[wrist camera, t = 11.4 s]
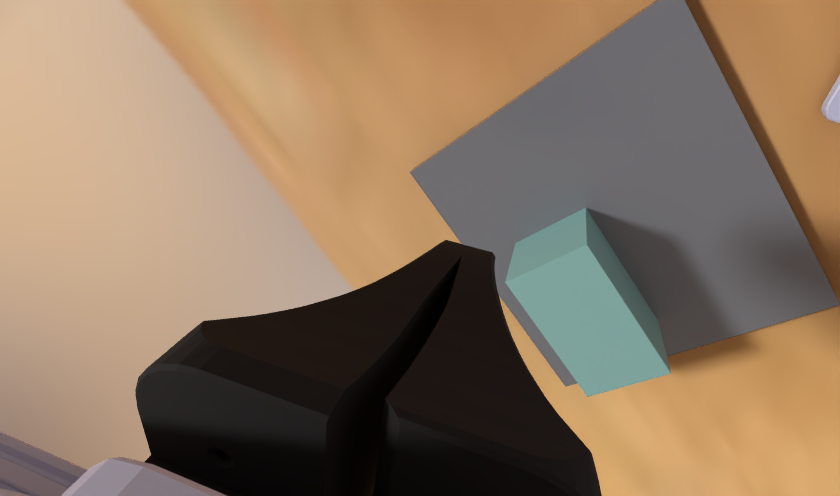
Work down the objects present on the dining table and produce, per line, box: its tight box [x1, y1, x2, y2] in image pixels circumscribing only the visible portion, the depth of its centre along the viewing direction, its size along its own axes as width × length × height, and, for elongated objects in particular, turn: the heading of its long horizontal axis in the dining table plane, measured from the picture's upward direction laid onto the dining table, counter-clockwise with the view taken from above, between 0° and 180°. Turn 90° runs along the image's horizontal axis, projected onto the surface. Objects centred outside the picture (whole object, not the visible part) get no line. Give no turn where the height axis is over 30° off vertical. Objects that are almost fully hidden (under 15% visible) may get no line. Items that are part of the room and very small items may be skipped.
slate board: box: [410, 0, 840, 386], centre depth 20 cm, size 14×12×1 cm
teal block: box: [505, 208, 671, 397], centre depth 19 cm, size 4×4×6 cm
